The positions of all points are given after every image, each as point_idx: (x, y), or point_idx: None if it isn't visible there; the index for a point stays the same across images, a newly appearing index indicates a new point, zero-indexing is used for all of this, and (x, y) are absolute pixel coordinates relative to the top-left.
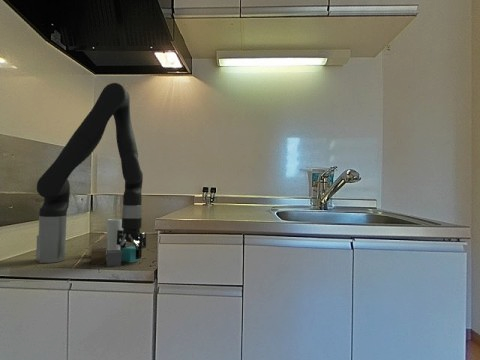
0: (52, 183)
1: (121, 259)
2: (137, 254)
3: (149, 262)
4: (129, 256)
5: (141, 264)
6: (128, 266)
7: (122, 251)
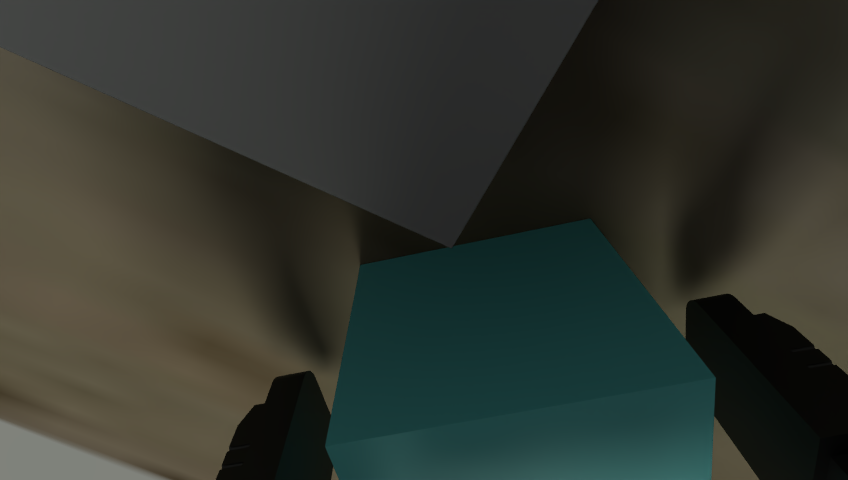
0: None
1: (586, 228)
2: (261, 450)
3: (185, 449)
4: (367, 322)
5: (110, 326)
6: (53, 98)
7: (622, 326)
